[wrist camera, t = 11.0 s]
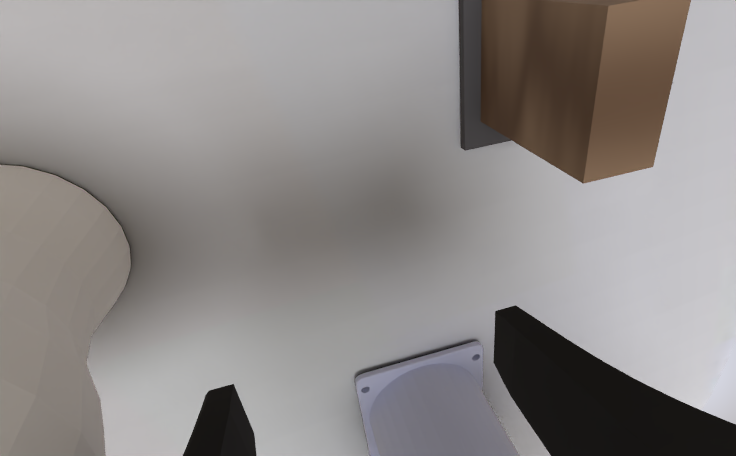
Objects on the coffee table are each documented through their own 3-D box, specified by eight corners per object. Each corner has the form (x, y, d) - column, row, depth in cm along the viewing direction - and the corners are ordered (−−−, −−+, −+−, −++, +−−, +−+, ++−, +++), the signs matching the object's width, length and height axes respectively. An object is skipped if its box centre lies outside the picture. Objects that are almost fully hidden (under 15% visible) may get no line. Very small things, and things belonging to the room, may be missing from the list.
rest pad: (539, 130, 21) (544, 133, 21) (461, 147, 21) (464, 150, 20) (553, -40, 18) (559, -40, 17) (458, -25, 17) (463, -26, 17)
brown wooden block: (531, 110, 20) (652, 166, 14) (480, 121, 20) (582, 183, 14) (540, -14, 18) (692, -10, 12) (481, -5, 17) (608, 5, 11)
